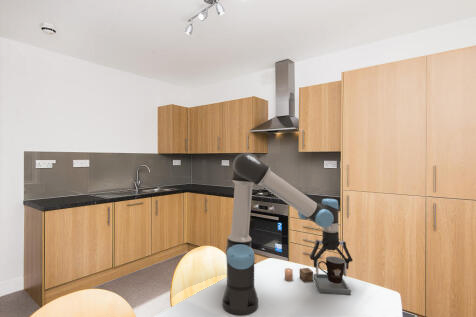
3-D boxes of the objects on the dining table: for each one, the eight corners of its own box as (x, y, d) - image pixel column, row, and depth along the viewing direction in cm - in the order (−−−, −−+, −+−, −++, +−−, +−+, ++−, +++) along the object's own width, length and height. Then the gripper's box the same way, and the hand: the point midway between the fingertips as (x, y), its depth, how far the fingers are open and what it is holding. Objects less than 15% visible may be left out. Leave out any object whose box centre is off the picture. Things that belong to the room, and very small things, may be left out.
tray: (319, 293, 114) (319, 288, 114) (313, 277, 129) (313, 273, 129) (350, 295, 112) (350, 290, 112) (340, 279, 127) (340, 275, 127)
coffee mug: (345, 279, 121) (346, 258, 121) (342, 286, 114) (343, 264, 114) (321, 273, 127) (321, 253, 127) (317, 279, 120) (317, 259, 120)
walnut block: (304, 282, 124) (304, 272, 124) (299, 278, 129) (299, 268, 129) (313, 281, 125) (313, 271, 125) (308, 277, 130) (308, 267, 130)
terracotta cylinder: (285, 281, 125) (284, 271, 125) (284, 277, 129) (284, 268, 129) (293, 281, 125) (292, 271, 125) (292, 278, 129) (292, 268, 129)
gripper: (306, 231, 119) (306, 276, 118) (359, 233, 116) (360, 279, 115) (303, 228, 126) (304, 270, 126) (354, 229, 123) (354, 272, 123)
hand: (330, 274), depth 121 cm, fingers closed on coffee mug, 12 cm apart
